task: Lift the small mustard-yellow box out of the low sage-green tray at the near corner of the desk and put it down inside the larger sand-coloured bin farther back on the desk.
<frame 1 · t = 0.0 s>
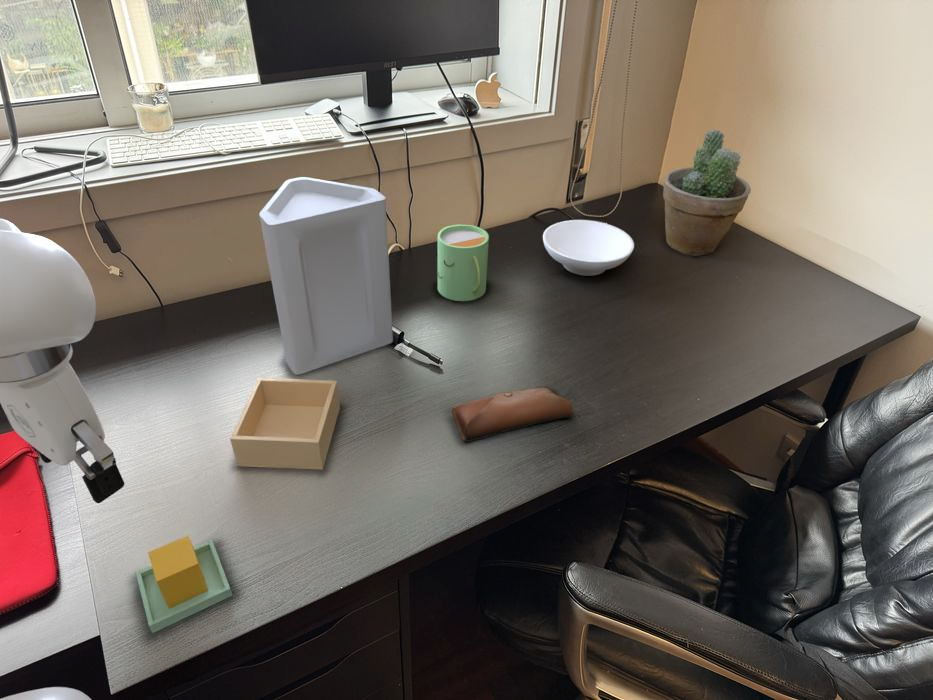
hand: (83, 473, 70), 16 cm above the table, tool pointing down, fingers open, 9 cm apart
mustard box: (184, 585, 76), resting on green tray
bowl: (583, 268, 141), on the table
sunglasses case: (509, 417, 102), on the table
green tray: (185, 587, 76), on the table
mug: (463, 291, 132), on the table
potted plant: (690, 245, 151), on the table
sand bin: (291, 435, 97), on the table
white triangular prism tub: (330, 338, 118), on the table
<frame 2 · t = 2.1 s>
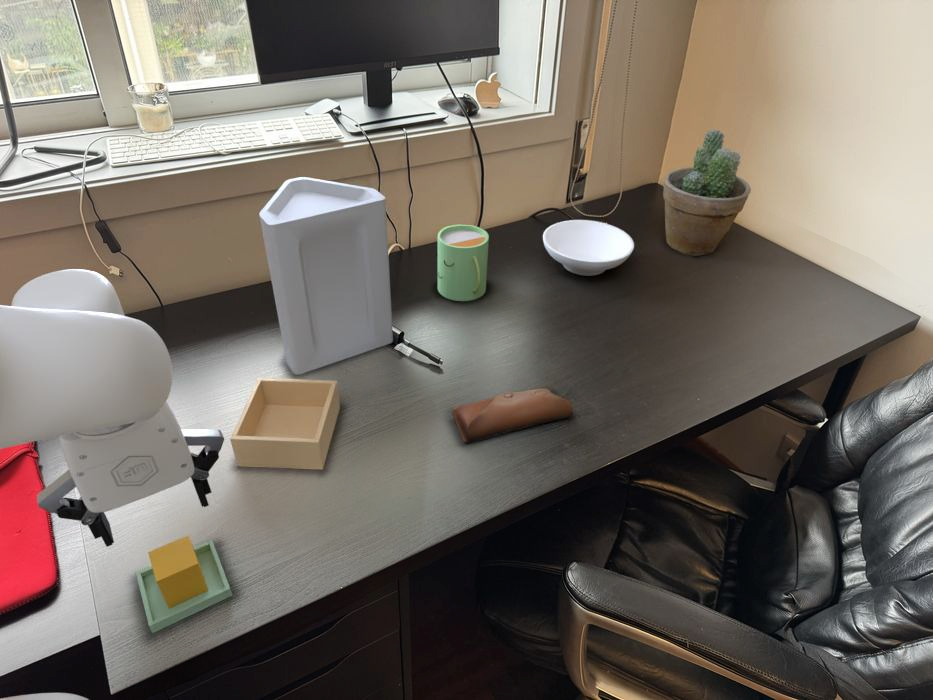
hand: (156, 516, 69), 13 cm above the table, tool pointing down, fingers open, 9 cm apart
nothing on the table moved.
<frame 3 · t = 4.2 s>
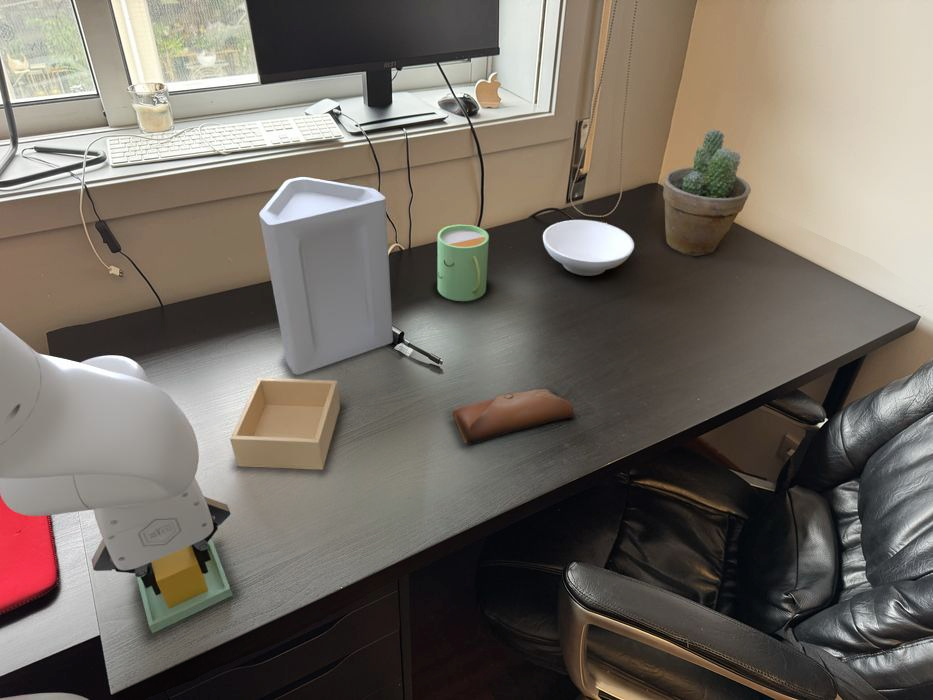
hand: (179, 573, 75), 3 cm above the table, tool pointing down, fingers closed on mustard box, 4 cm apart
mustard box: (184, 585, 76), point 1 cm above the table, touching green tray, gripper
everything else where it was.
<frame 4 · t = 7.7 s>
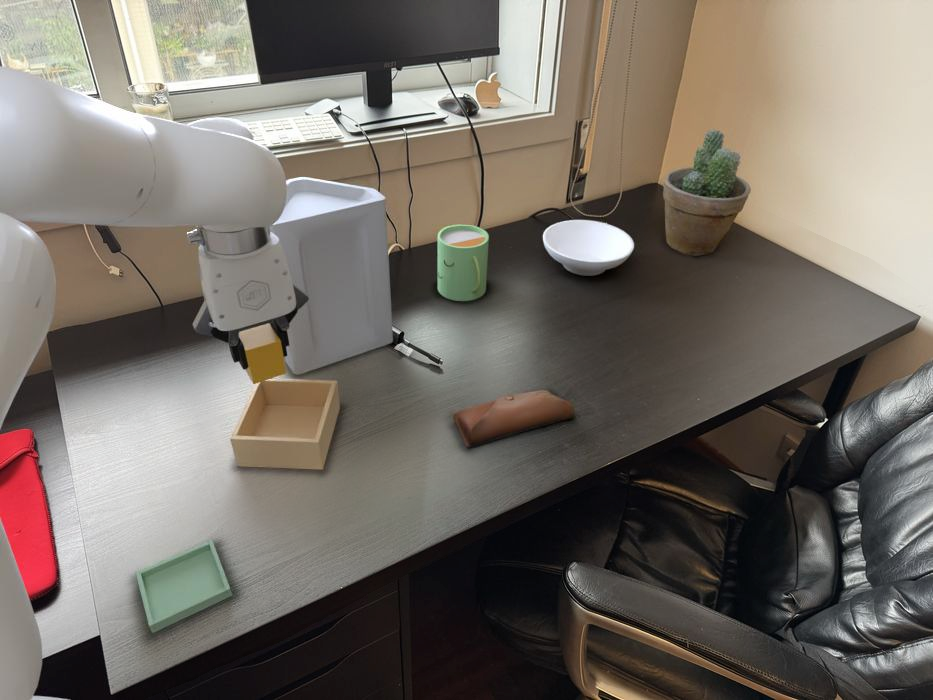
hand: (262, 356, 84), 18 cm above the table, tool pointing down, fingers closed on mustard box, 4 cm apart
mustard box: (264, 369, 86), point 15 cm above the table, touching gripper
everything else where it was.
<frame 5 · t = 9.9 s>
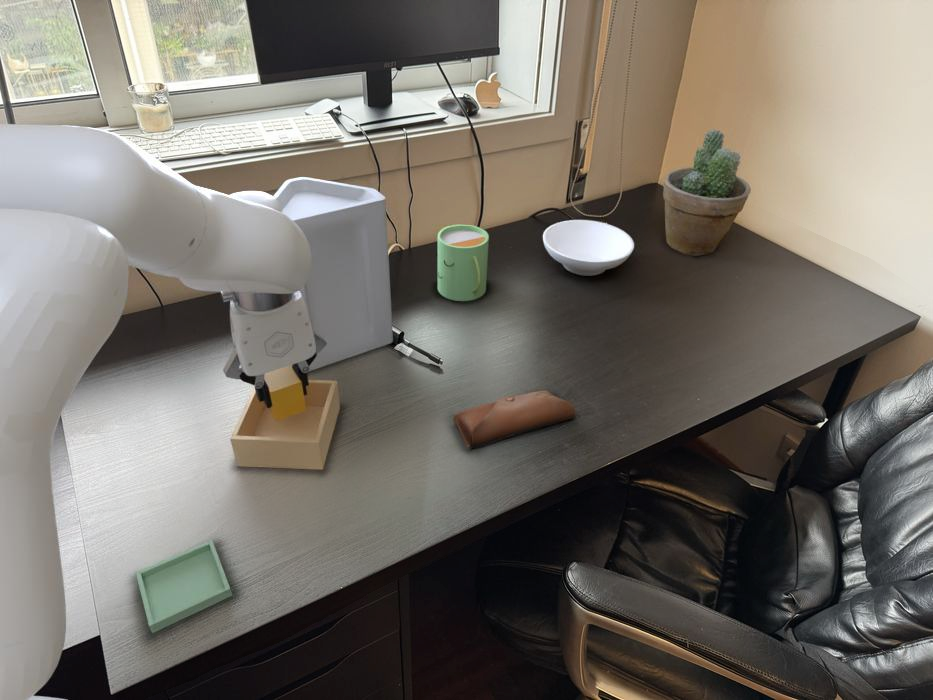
hand: (284, 395, 92), 8 cm above the table, tool pointing down, fingers closed on mustard box, 4 cm apart
mustard box: (286, 406, 94), point 6 cm above the table, touching gripper
when the fingers open (4 cm above the table, at t = 12.2 s): mustard box stays where it is, resting on sand bin.
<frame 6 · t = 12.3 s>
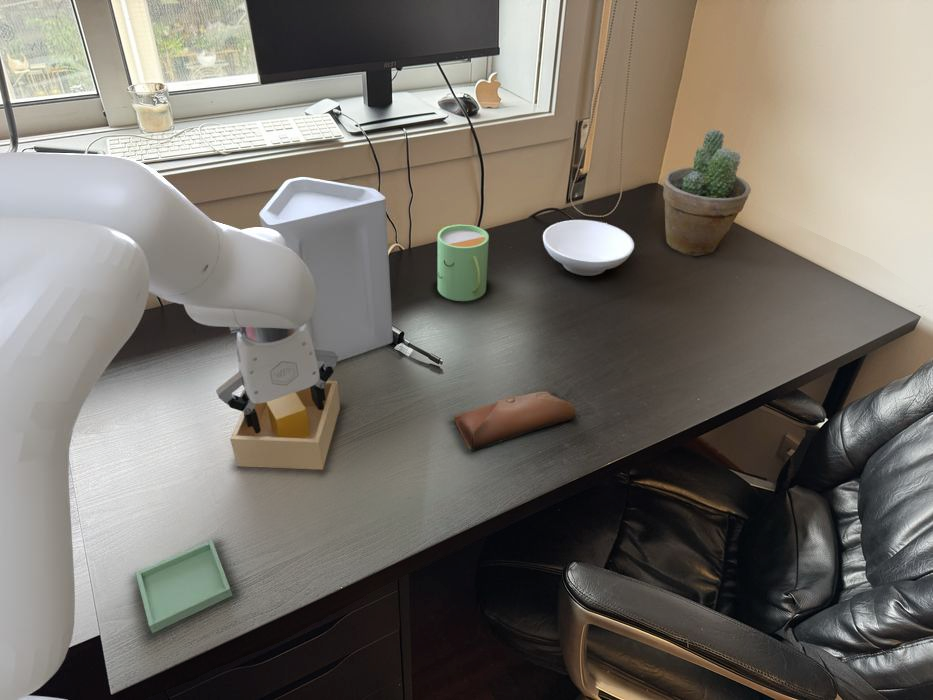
hand: (287, 415, 95), 4 cm above the table, tool pointing down, fingers open, 9 cm apart
mustard box: (291, 432, 97), point 1 cm above the table, touching sand bin
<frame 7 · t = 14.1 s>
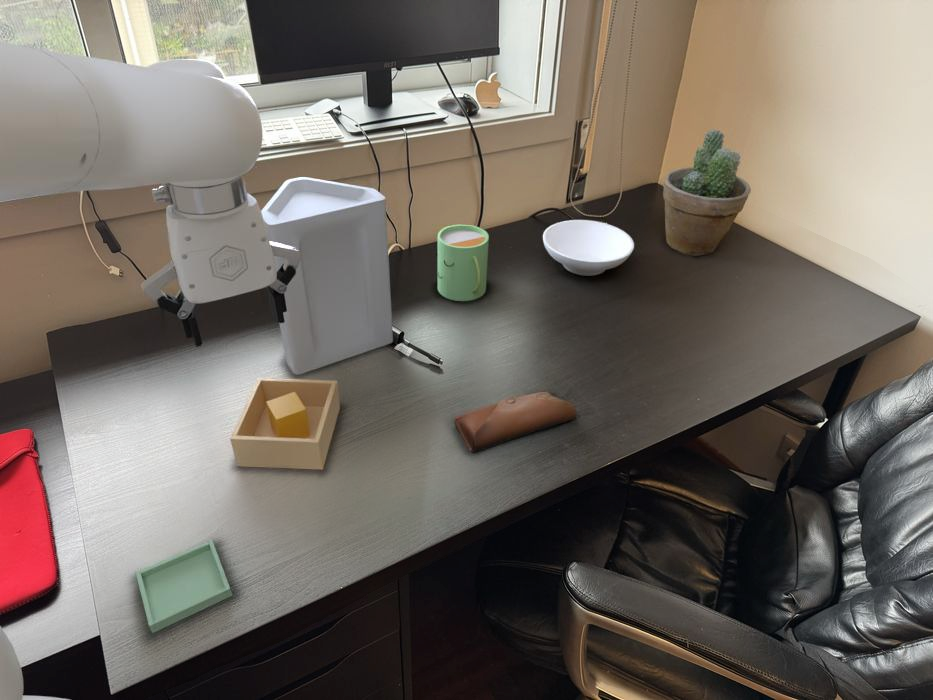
hand: (238, 328, 76), 25 cm above the table, tool pointing down, fingers open, 9 cm apart
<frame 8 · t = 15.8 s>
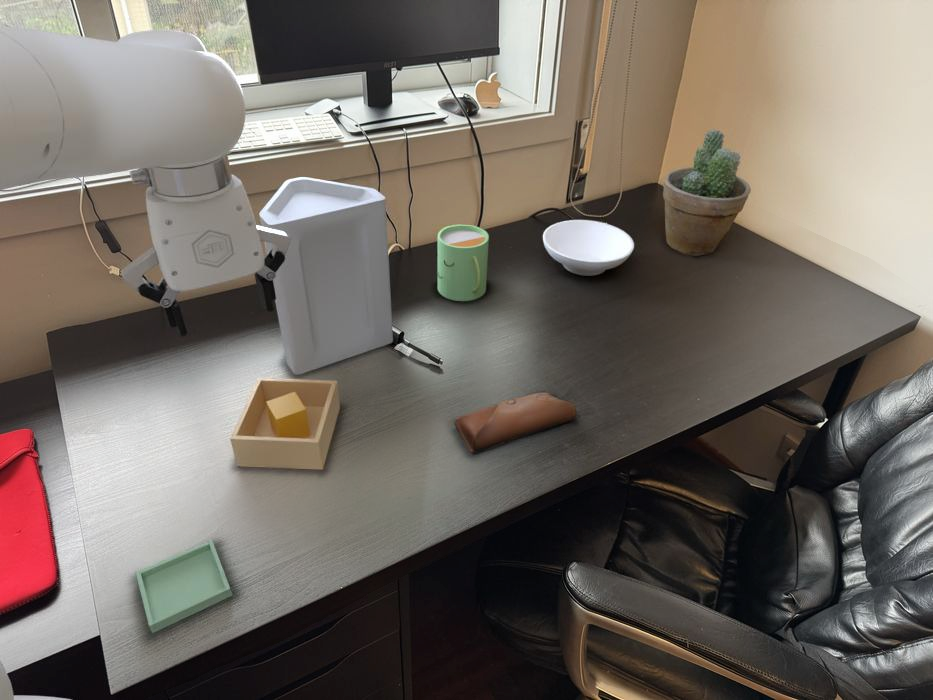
hand: (225, 317, 72), 28 cm above the table, tool pointing down, fingers open, 9 cm apart
at the end: mustard box inside the target area in the sand bin (0.1 cm from its centre), point 0.6 cm above the sand bin's base; the gripper is holding nothing; mustard box moved 26.9 cm from its start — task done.
